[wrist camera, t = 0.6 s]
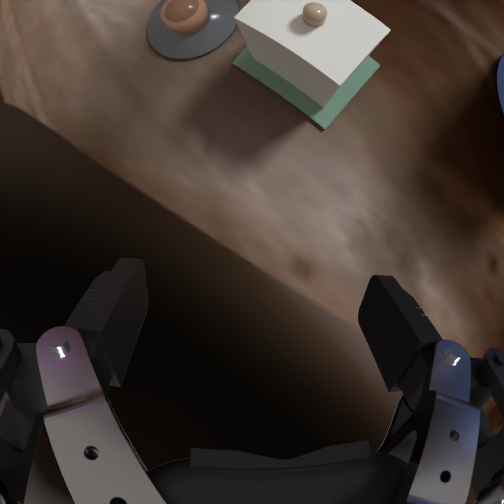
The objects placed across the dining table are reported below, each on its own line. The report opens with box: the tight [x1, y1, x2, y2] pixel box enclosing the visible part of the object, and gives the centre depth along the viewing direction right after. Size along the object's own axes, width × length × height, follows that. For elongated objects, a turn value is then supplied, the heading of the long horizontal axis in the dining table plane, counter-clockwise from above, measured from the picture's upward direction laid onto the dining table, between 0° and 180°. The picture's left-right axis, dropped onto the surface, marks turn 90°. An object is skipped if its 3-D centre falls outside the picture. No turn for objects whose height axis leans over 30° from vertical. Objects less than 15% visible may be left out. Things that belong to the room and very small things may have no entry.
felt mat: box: [232, 46, 380, 129], centre depth 24 cm, size 12×10×1 cm
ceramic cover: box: [234, 0, 390, 108], centre depth 19 cm, size 9×7×12 cm
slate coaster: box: [147, 0, 239, 59], centre depth 24 cm, size 11×11×1 cm
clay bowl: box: [160, 0, 211, 35], centre depth 22 cm, size 5×5×3 cm
